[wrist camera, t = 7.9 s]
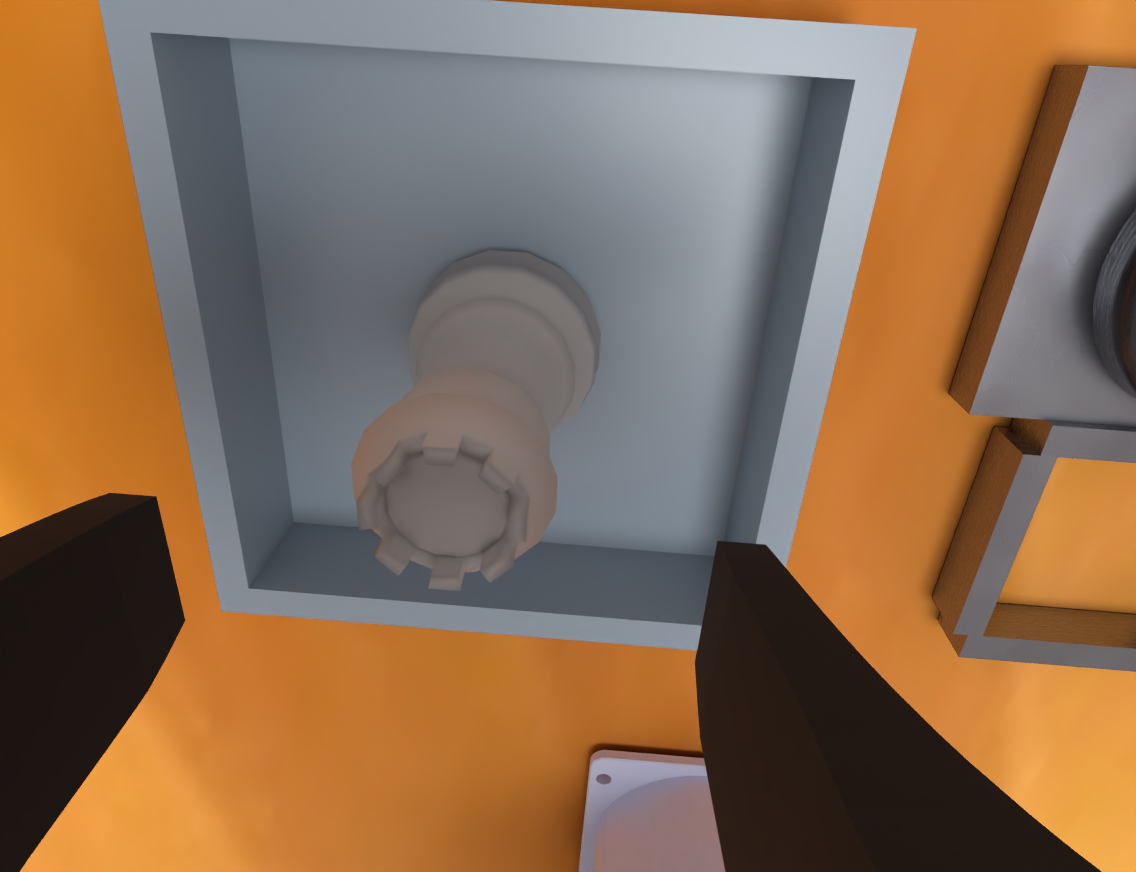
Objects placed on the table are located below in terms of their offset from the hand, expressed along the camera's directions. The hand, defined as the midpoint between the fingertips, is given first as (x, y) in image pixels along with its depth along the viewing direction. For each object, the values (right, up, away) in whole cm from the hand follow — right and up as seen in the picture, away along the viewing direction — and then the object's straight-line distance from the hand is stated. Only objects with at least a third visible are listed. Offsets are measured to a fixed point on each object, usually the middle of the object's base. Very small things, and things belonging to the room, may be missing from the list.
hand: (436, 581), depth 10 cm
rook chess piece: (0, +4, +8) cm, 10 cm away
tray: (0, +5, +9) cm, 10 cm away
